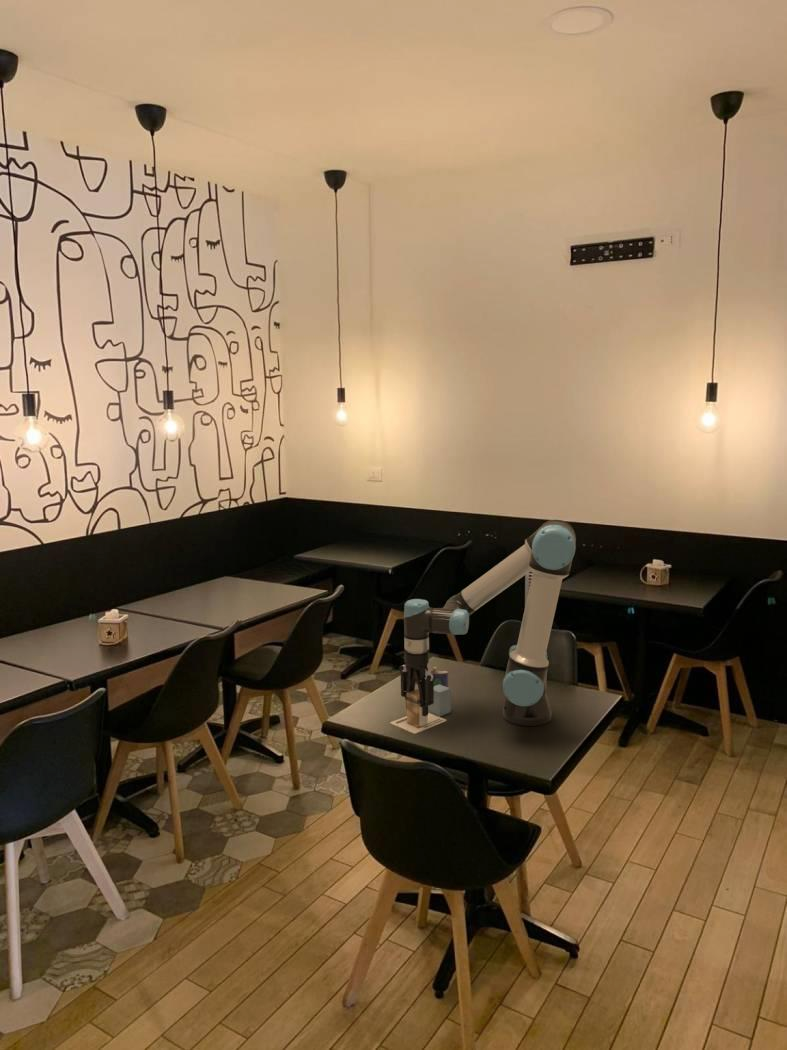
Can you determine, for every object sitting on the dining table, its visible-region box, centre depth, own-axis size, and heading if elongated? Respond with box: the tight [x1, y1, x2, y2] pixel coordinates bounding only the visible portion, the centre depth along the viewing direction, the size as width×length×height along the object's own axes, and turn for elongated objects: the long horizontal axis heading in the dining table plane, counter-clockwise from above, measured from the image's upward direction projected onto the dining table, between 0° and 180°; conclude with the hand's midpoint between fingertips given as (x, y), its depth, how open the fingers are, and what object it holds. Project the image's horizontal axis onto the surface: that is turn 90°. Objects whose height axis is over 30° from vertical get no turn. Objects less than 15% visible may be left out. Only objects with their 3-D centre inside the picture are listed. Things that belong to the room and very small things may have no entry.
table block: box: [406, 688, 428, 728], centre depth 244 cm, size 4×4×10 cm
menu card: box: [389, 712, 448, 735], centre depth 246 cm, size 11×14×1 cm
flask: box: [428, 666, 449, 688], centre depth 266 cm, size 9×3×11 cm, turn 88°
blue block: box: [428, 685, 452, 717], centre depth 253 cm, size 5×5×8 cm
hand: (417, 722), depth 245 cm, fingers closed on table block, 4 cm apart
